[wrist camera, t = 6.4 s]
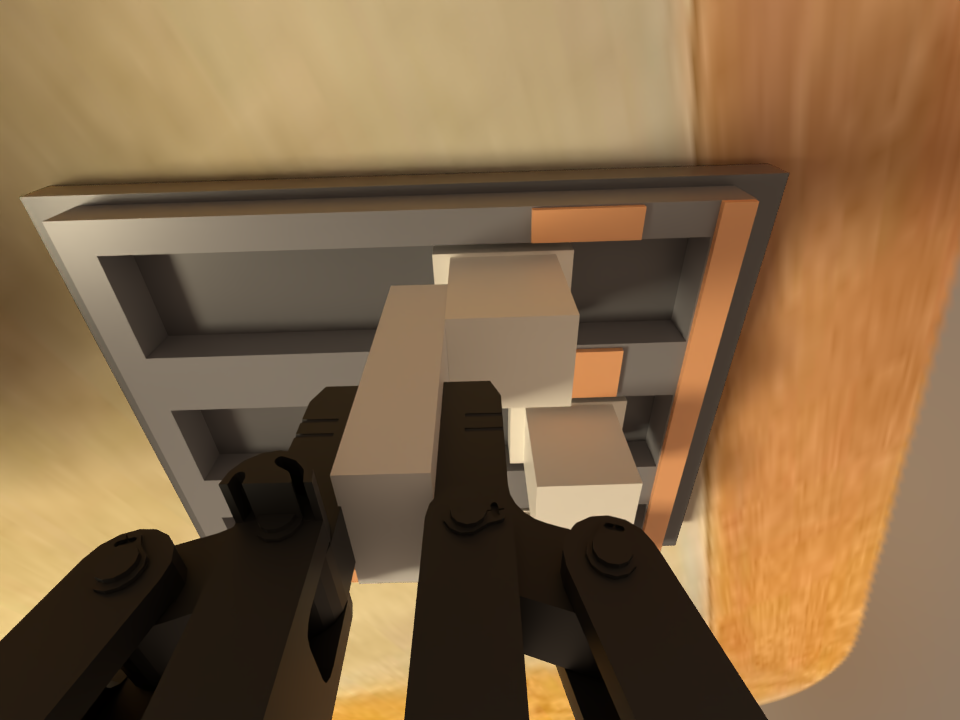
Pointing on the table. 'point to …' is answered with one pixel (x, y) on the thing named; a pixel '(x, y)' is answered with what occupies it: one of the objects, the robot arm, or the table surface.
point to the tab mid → (575, 460)
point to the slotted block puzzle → (404, 261)
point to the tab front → (511, 319)
